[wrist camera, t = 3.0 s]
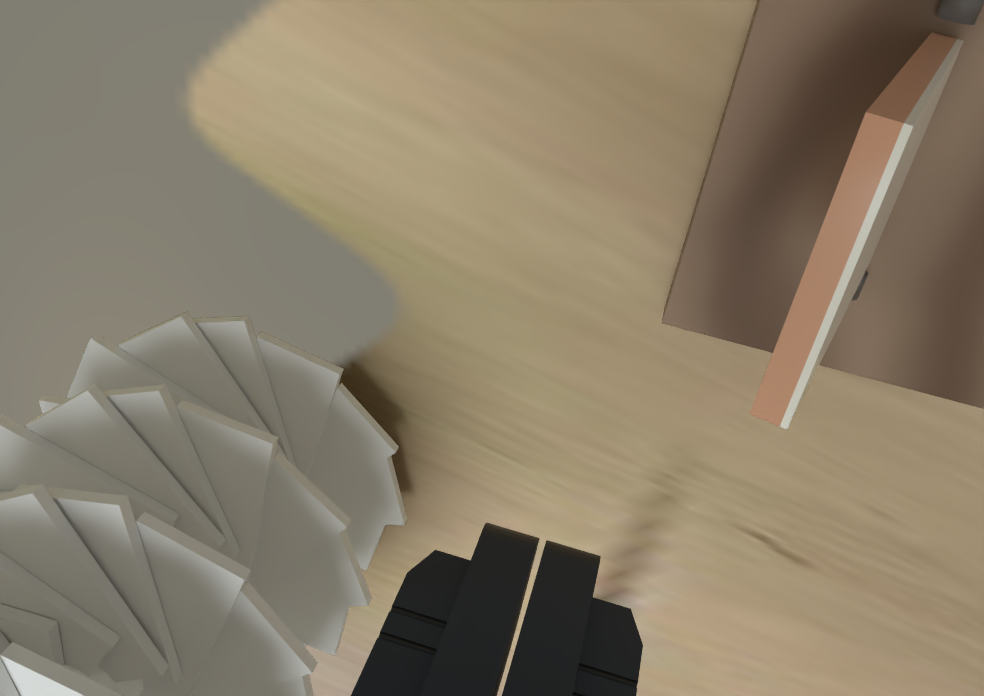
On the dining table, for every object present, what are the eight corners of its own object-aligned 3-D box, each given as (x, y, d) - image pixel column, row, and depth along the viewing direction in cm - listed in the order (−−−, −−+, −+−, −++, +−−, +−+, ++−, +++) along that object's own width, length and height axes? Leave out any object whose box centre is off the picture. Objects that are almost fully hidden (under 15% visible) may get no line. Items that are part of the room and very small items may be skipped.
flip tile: (932, 32, 30) (963, 40, 30) (842, 253, 34) (869, 263, 34) (866, 111, 20) (913, 126, 20) (749, 413, 24) (787, 429, 24)
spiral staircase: (442, 304, 42) (123, 800, 21) (434, 594, 51) (206, 1147, 30) (77, 247, 45) (-516, 623, 24) (130, 528, 54) (-270, 984, 33)
